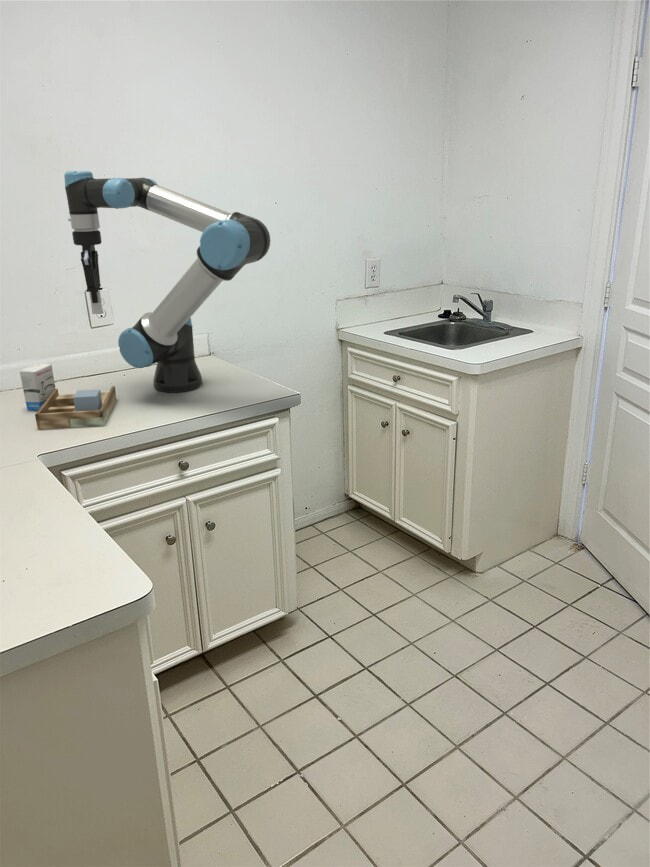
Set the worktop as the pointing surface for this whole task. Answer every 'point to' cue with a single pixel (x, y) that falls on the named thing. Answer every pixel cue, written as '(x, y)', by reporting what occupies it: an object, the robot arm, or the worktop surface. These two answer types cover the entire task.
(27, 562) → the worktop surface
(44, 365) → the ink box
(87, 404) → the block
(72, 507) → the worktop surface
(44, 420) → the wooden tray
